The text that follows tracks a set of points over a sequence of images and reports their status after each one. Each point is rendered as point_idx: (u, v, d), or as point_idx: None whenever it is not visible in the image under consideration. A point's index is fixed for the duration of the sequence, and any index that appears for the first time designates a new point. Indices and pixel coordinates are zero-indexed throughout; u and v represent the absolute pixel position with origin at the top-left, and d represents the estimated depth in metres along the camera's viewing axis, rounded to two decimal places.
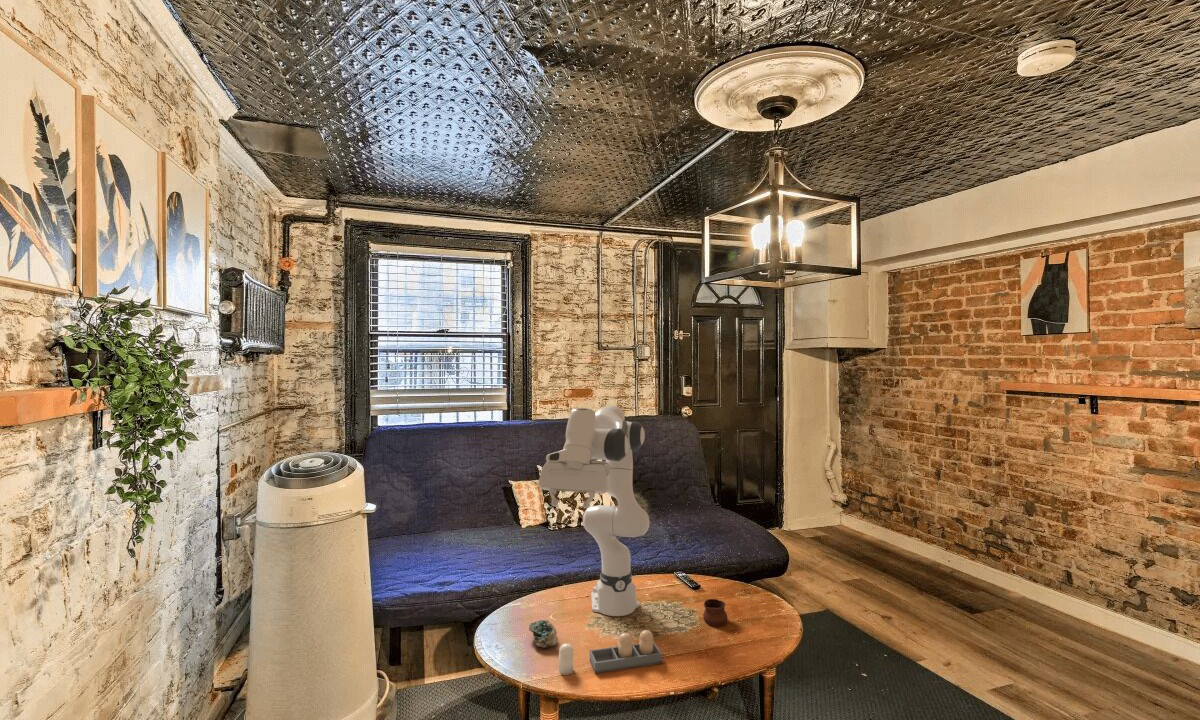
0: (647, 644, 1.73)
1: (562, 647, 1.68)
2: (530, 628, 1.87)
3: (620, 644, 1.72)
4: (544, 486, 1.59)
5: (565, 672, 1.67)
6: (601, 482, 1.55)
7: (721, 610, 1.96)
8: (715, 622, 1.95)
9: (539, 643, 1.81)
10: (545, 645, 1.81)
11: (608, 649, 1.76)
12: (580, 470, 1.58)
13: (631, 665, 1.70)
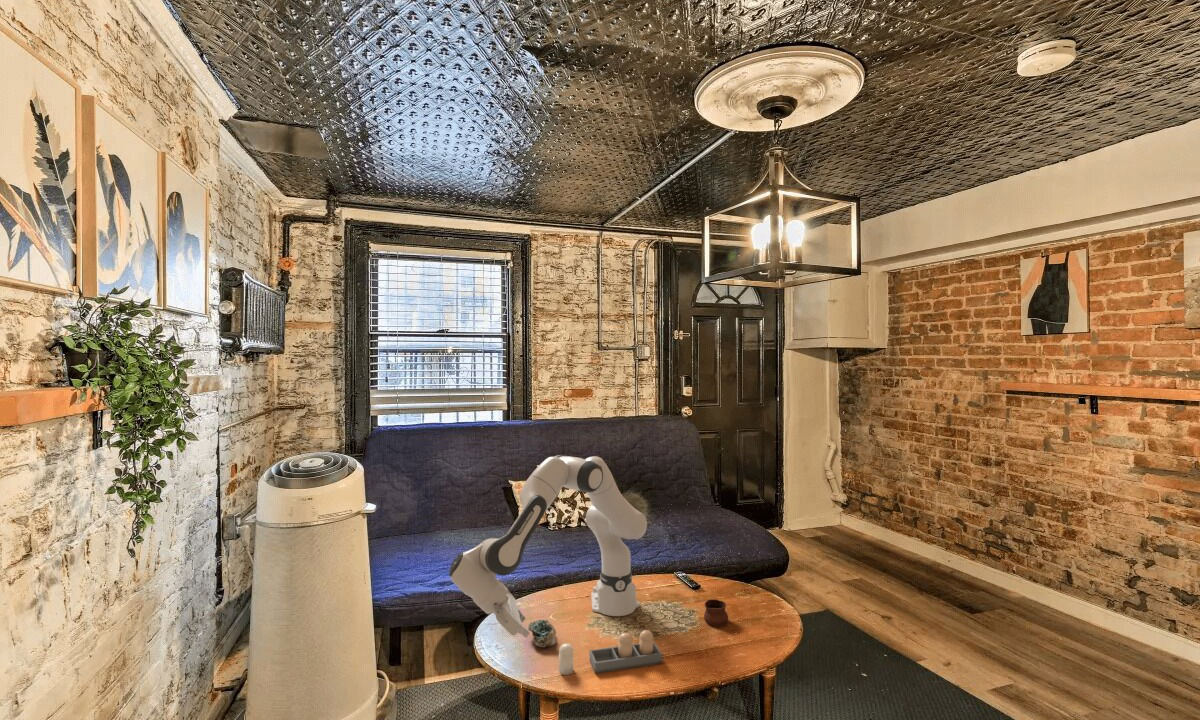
0: (647, 644, 1.73)
1: (562, 647, 1.68)
2: (529, 628, 1.87)
3: (620, 644, 1.72)
4: None
5: (565, 672, 1.67)
6: None
7: (722, 610, 1.96)
8: (716, 622, 1.95)
9: (538, 643, 1.81)
10: (544, 645, 1.81)
11: (608, 649, 1.76)
12: None
13: (631, 665, 1.70)
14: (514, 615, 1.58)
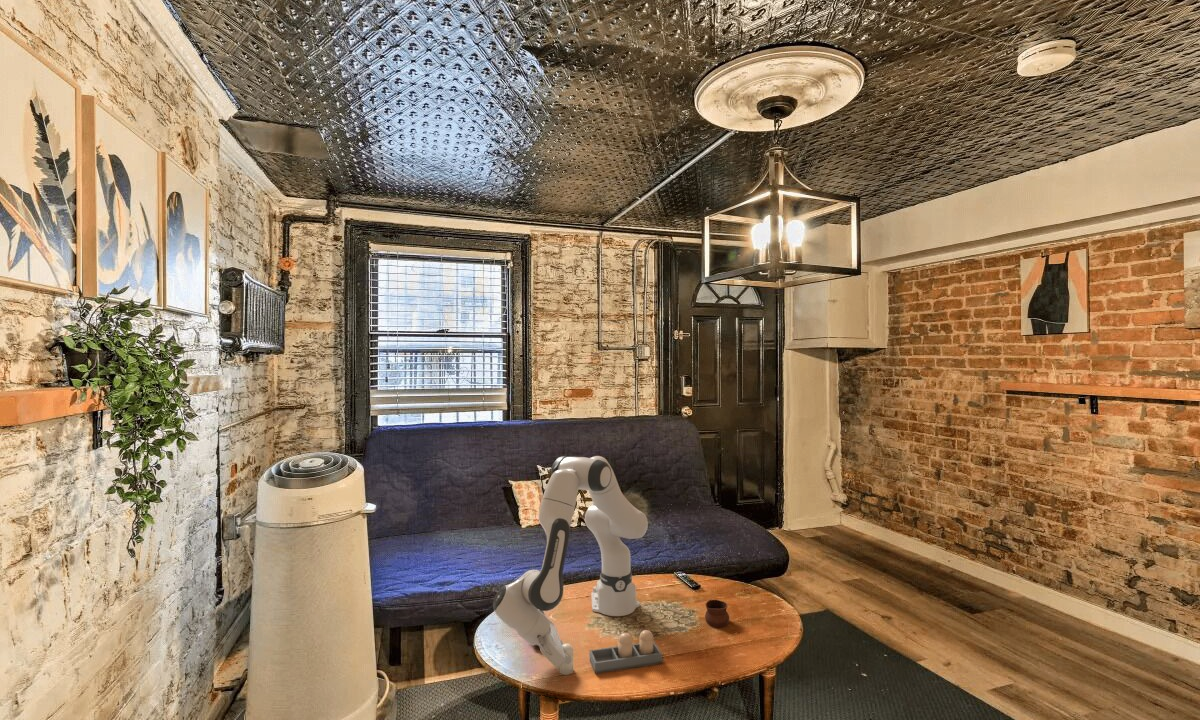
0: (647, 644, 1.73)
1: None
2: None
3: (620, 644, 1.72)
4: None
5: (565, 672, 1.67)
6: None
7: (723, 611, 1.96)
8: (717, 623, 1.95)
9: None
10: None
11: (608, 649, 1.76)
12: None
13: (631, 665, 1.70)
14: (558, 647, 1.62)
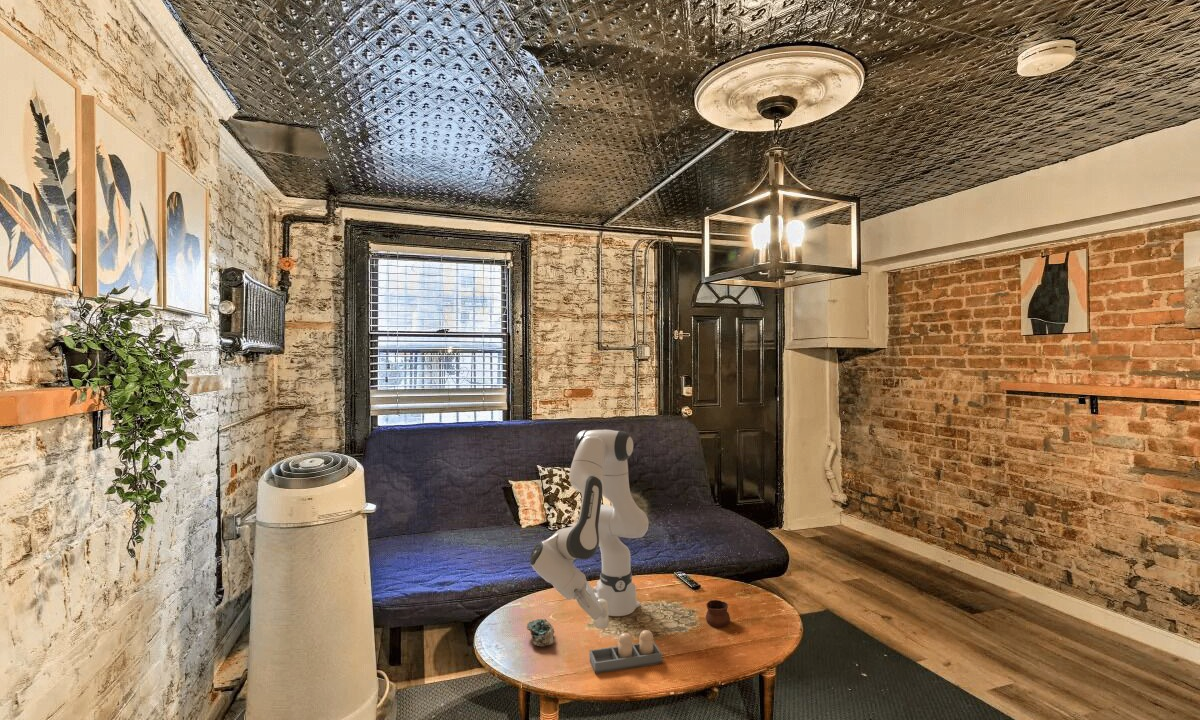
0: (647, 644, 1.73)
1: None
2: (528, 627, 1.88)
3: (620, 644, 1.72)
4: None
5: (601, 626, 1.70)
6: None
7: (724, 611, 1.96)
8: (718, 623, 1.95)
9: (536, 642, 1.81)
10: (542, 644, 1.81)
11: (608, 649, 1.76)
12: None
13: (631, 665, 1.70)
14: (594, 600, 1.65)
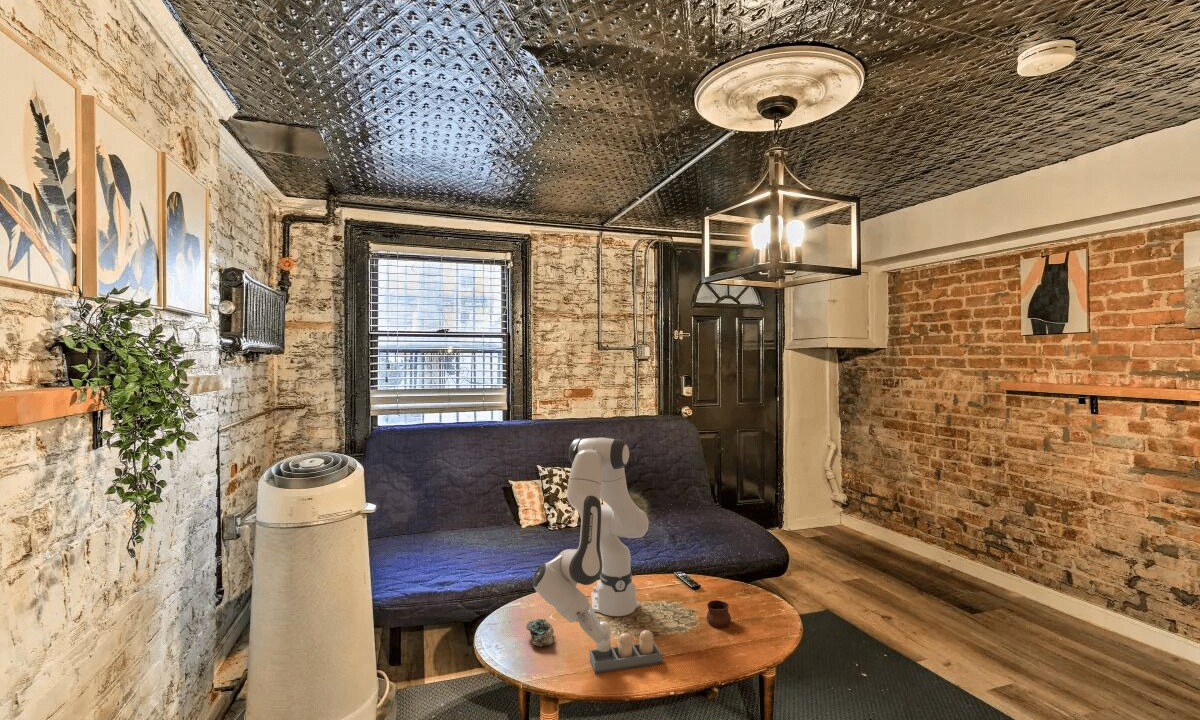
0: (647, 644, 1.73)
1: None
2: (527, 627, 1.88)
3: (620, 644, 1.72)
4: None
5: (603, 649, 1.70)
6: None
7: (725, 611, 1.95)
8: (719, 623, 1.94)
9: (535, 642, 1.82)
10: (541, 644, 1.81)
11: None
12: None
13: (631, 665, 1.70)
14: (597, 623, 1.65)
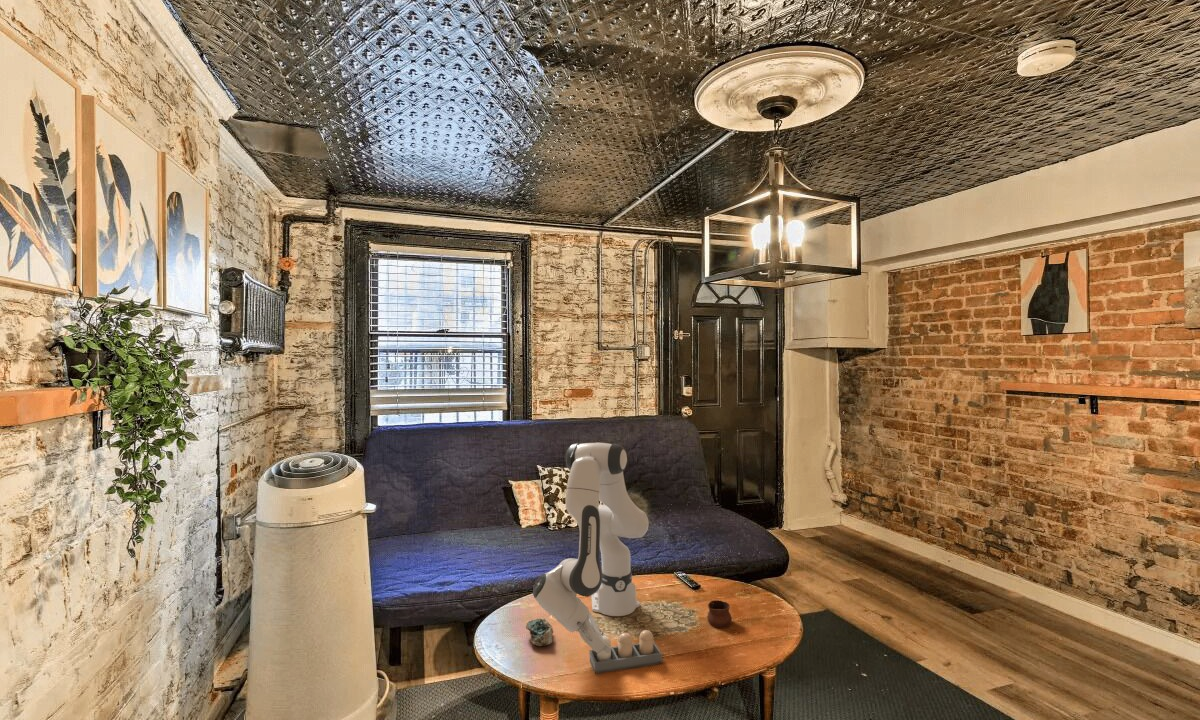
0: (647, 644, 1.73)
1: None
2: (527, 626, 1.88)
3: (620, 644, 1.72)
4: None
5: None
6: None
7: (725, 611, 1.95)
8: (719, 624, 1.94)
9: (535, 641, 1.82)
10: (541, 644, 1.82)
11: None
12: None
13: (631, 665, 1.70)
14: (597, 633, 1.65)
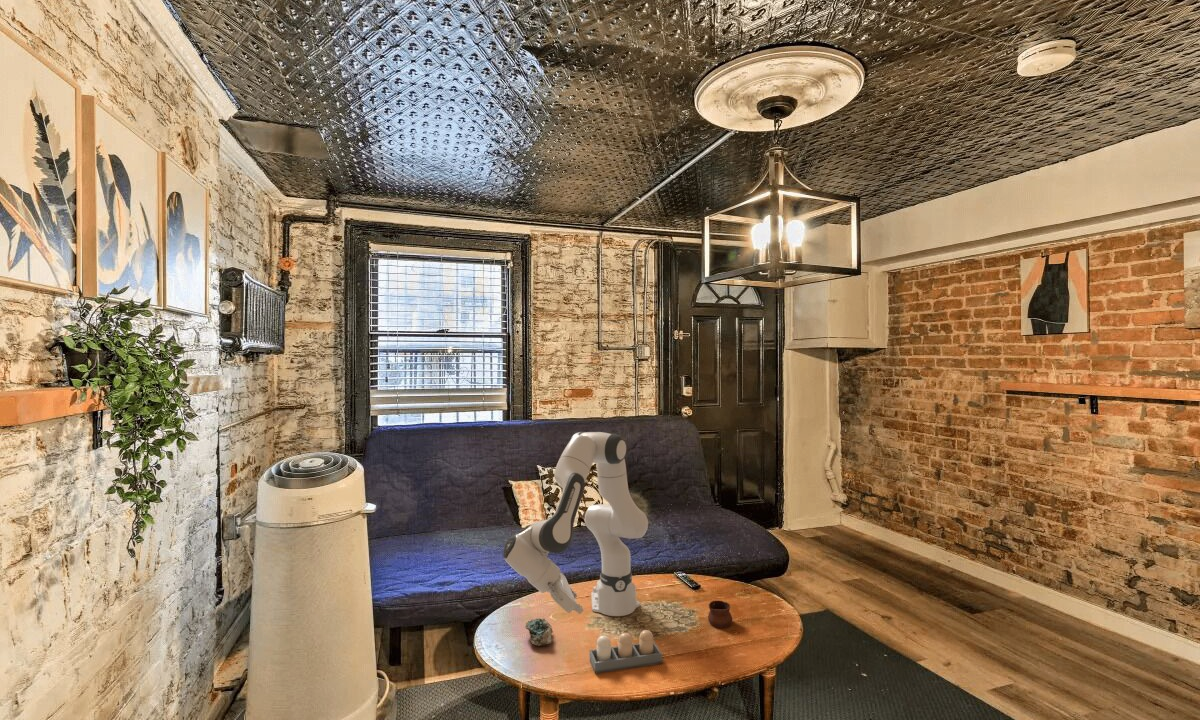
0: (647, 644, 1.73)
1: (600, 639, 1.71)
2: (526, 626, 1.88)
3: (620, 644, 1.72)
4: None
5: None
6: None
7: (726, 612, 1.95)
8: (720, 624, 1.94)
9: (534, 641, 1.82)
10: (540, 643, 1.82)
11: None
12: None
13: (631, 665, 1.70)
14: (568, 593, 1.64)
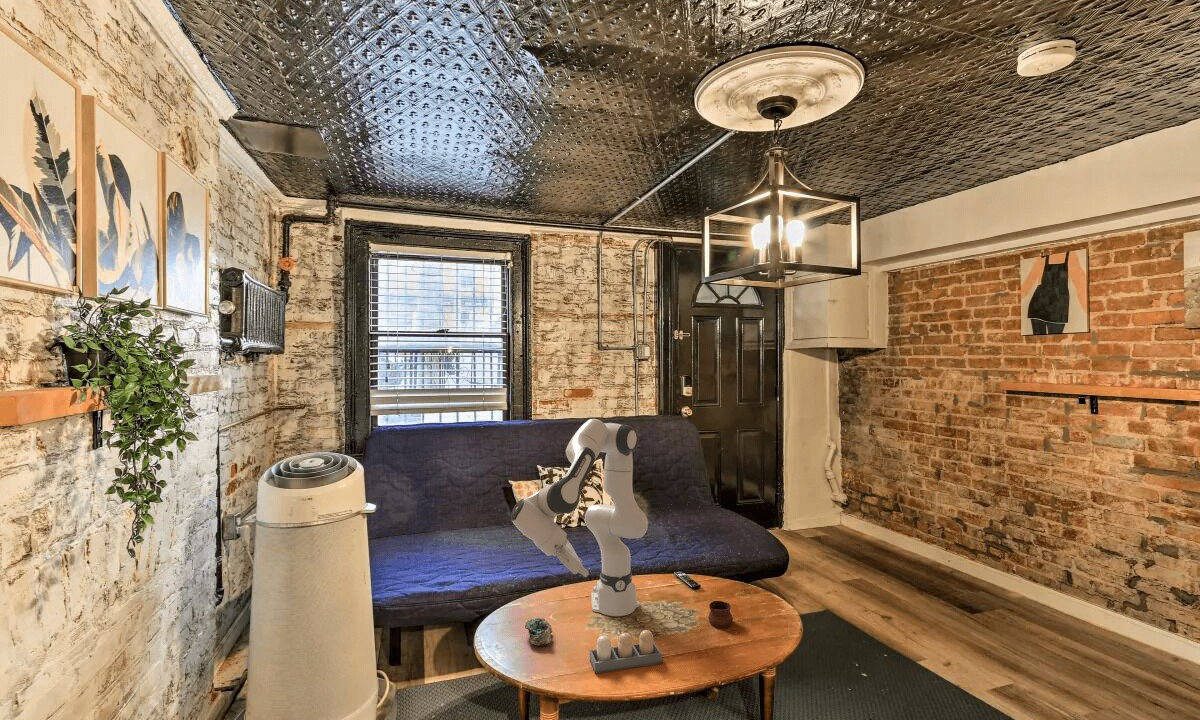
0: (647, 644, 1.73)
1: (600, 639, 1.71)
2: (526, 626, 1.88)
3: (620, 644, 1.72)
4: None
5: None
6: (569, 569, 1.64)
7: (726, 612, 1.95)
8: (720, 624, 1.94)
9: (533, 641, 1.82)
10: (539, 643, 1.82)
11: None
12: None
13: (631, 665, 1.70)
14: (574, 556, 1.67)
